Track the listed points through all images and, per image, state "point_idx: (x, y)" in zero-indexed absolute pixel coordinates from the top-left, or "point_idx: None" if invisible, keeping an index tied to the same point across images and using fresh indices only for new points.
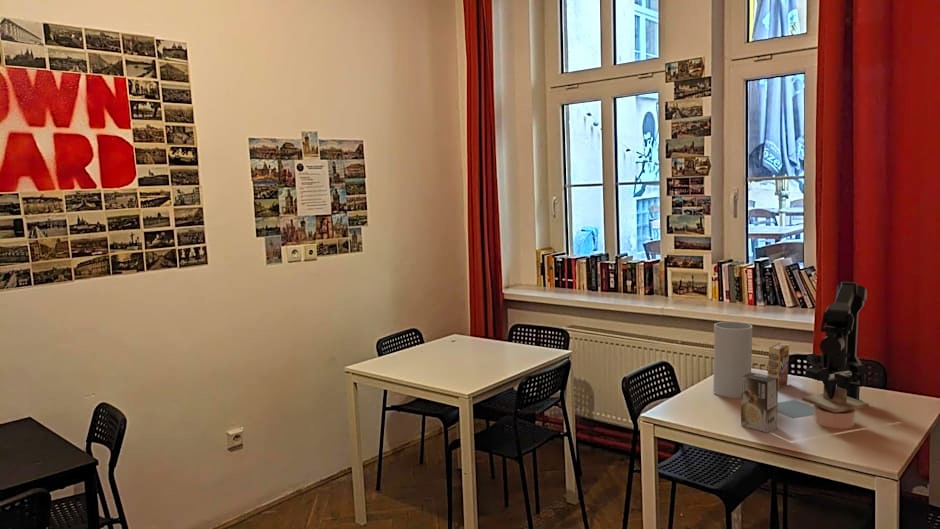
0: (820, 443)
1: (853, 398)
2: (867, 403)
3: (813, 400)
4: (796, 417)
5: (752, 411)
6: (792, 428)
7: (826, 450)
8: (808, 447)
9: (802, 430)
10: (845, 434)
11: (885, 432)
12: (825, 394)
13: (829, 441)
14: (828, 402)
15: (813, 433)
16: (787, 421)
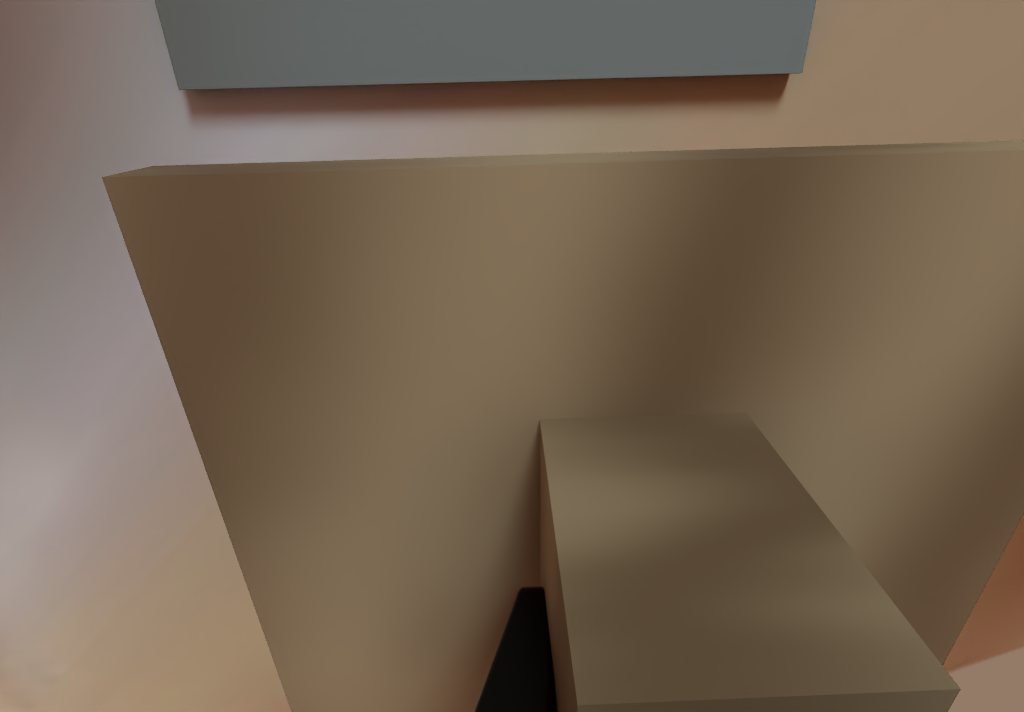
0: (144, 632)
1: (983, 586)
2: None
3: (239, 466)
4: (248, 83)
5: None
6: (52, 332)
7: (122, 707)
8: (16, 655)
9: (136, 406)
10: None
11: None
12: (550, 530)
13: (235, 624)
14: (437, 605)
15: (203, 487)
16: (90, 116)
